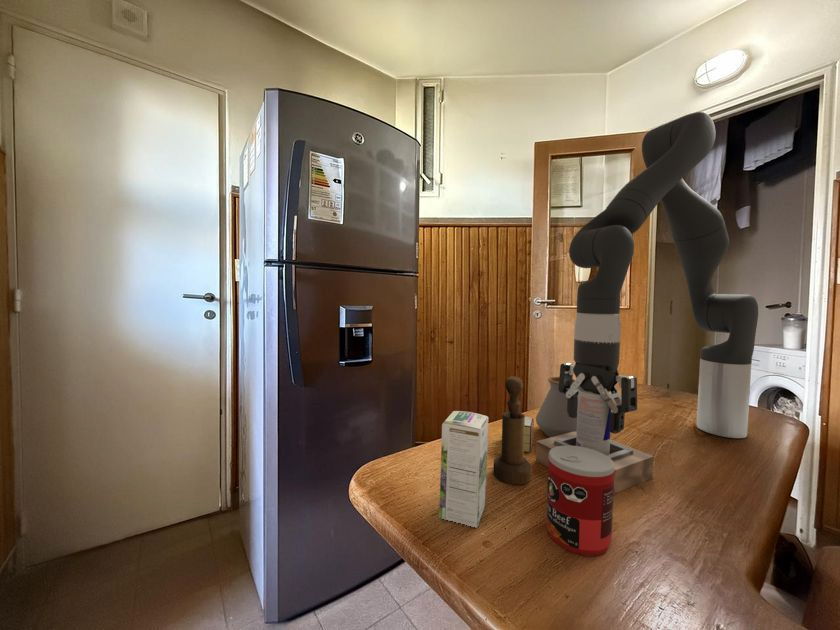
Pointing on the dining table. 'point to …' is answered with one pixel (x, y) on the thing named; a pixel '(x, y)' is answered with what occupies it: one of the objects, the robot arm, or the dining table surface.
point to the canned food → (580, 499)
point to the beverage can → (593, 422)
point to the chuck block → (627, 460)
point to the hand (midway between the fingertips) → (593, 424)
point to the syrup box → (463, 467)
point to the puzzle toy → (528, 434)
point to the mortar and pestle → (513, 440)
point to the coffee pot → (555, 412)
